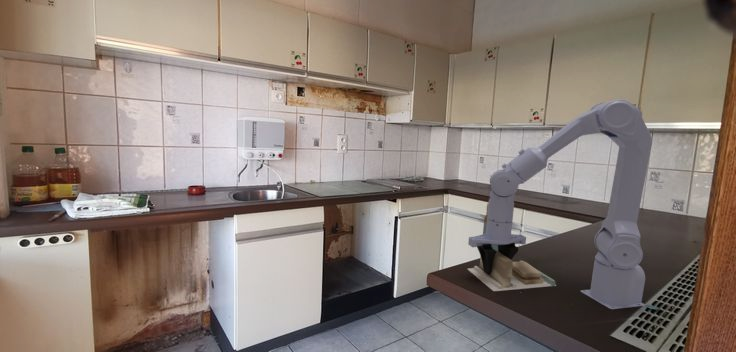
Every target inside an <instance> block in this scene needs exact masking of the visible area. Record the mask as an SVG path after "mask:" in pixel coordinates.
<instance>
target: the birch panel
mask: <svg viewBox="0 0 736 352" xmlns="http://www.w3.org/2000/svg"><path fill="white" fill-rule="evenodd" d="M494 250H495V249H494ZM495 251H496V250H495ZM479 256H480V255H479ZM513 262H514V261H513V259H512V260H510V259H509V258H507V257H506V256H504V255H503V254H501V253H499V252H498V251H496V254H495V257H494V260H493V264H492V272H491V275H489V276H490V277H492V278H493V279H494V280H495V281H497V282H498V283H499V284H500V285H502V288H508V287H510V284H511V275H512V265H513ZM478 267H479V268H480V269H481V270H483V263H482V259H481V256H480V259H479V266H478ZM483 271H484V270H483Z"/></svg>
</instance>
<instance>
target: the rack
mask: <svg viewBox="0 0 736 352" xmlns="http://www.w3.org/2000/svg"><path fill="white" fill-rule="evenodd" d="M518 262H525V261H524V260H519V261H518ZM479 267H480V266H477V265H475V266H473V267H471V268H470V267H469V268H467V270H468V272H470V273H471V274H472V275H474V276H475V277H476V279H478V280H479V281H481V282H482V283H483V284H484V285H485V286H487V287H488V289H490V290H491V291H493V292H501V291H502V292H503V291H511V290H523V289H534V288H544V287H545V288H546V287H556V286H557V284H556V280H554V279H553V278H551V277H550V276H549V275H547V274H545V273H544V272H541V271H540V270H538V269H536V268H535V269H536V270H538V271H539V272H541V273H542V277H540V278H541V279H543V280H544V281H543V283H541V284H529V285H525V284H523V283H522V282H521V281H519V280H518V279H516V278H515V277H513V276H512V275H511V284H510V287H508V288H502V285H500V284H499V283H498V282H497V281H495V280H494V279H493V278H492V277H490V276H489V275H487V274H486V273H485V272H484V271H483V270H481V269H480V268H479Z"/></svg>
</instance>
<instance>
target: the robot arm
mask: <svg viewBox="0 0 736 352" xmlns="http://www.w3.org/2000/svg"><path fill="white" fill-rule="evenodd" d="M599 133H601V134H602V135H605V136H607V137H608V138H609V139H610V140H612V141H613V143H615V144H616V145H617V146H618V153H617V158H616V165H615V168H614V169H615V170H614V175H613V181H612V186H611V193H610V199H609V202H608V203H609V204H608V208H607V215H606V217H605V218H604V220H603V221H602V222H601V226H600V229H599V230H598V231H597V232H596V233H595V236H594V239H593V242H594V245H595V248H596V249H598V251H597V253H596V255H595V256H594V263H593V268H592V269H593V270H592V275H591V277H592V278H591V283H590V289H583V290H580V292H581V293H582V294H584V295H586V296H588V297H589V298H591V299H593V300H594V301H596V302H598V303H599V304H601V305H603V306H605V307H606V308H608V309H611V310H617V309H626V308H635V307H643V306H646V304H645V303H643V302H642V301H643V294H644V288H645V284H646V275H645V271H644V269H643V268H642V267H641V266H640V265H639V264H641V262H642V260H643V258H644V257H643V256H644V251H643V250H642V247H641V237H642V236H641V232H640V230H639V227H638V223H637V222H638V218H639V212H640V207H641V203H642V198H643V192H644V187H645V183H646V177H647V171H648V165H649V161H650V155H651V150H652V145H653V137H652V135H651V132H650V131H649V129H648V126H647V125H646V123H645V121H644V119H643V111H642V110H641V109H640V108H639V107H637V106H636V105H635V104H633V103H631V102H630V101H629V100H625V99H614V100H611V101H607V102H599V103H597V104H595V105H593V106H592V107H591V108H590V110H585V111H584V112H582V113H581V114H579V115H578V116H576V117H575V118H573V119H572V120H571V121H570V122H568V123H567V124H566V125H564V126H562V128H561V129H560V130H558V131H557V132H556V133H554V134H553V135H552V136H551V137H550V138H548V139H547V140H546V141H544V143H542V144H541V145H540V146H538V147H527V148H526V149H524V148H522V149H520V150H519V151H518V154H519V155H517V156H516V157H514V158H513V159H512V160H510V162H508V163H503V164H501V167H502V169H498V170H496V171H494V172H493V173H492V175H491V177H490V178H489V185H490V188H491V189H490V192H489V199H488V203H487V204H488V214H487V225H486V234H483V233H482V234H479V235H476V236H469V237H468V242H467V243H468V246H470V247H471V248H477V250H478V253H479V256H481V259H482V263H483V270H484V272H485V273H486V274H487V275H491V272H492V264H493V260H494V257H495V254H496V251H495V250H494V249H493V247H491V246H492V245H498V252H499V253H501V254H503V255H504V256H506V257H507V258H509V259H510V260H512V261H513V258H514V257H515V256H516V254H517V253H518V252H519V247H518V246H516V245H518V244H519V245H522V246H523V245H526V244H527V237H526V236H525V235H523V234H512V228H513V220H514V219H513V218H514V208H515V202H514V200H515V199H514V198H515V193H517V190H518V188H519V186H520V185H521V184H525V183H526V182H527V181H529V180H530V179H531V178H533V177H535V176H536V175H537V174H538V173H540V172H541V171H542V170H544V169H546V168H547V165H548V159H549V158H551V157H552V156H554V155H555V154H556V153H559V152H560V151H562V149H564V148H565V147H567V146H568V145H570V144H571V143H573V142H575V141H576V140H578V139H579V138H580V137H583V136H587V135H594V134H599Z"/></svg>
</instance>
